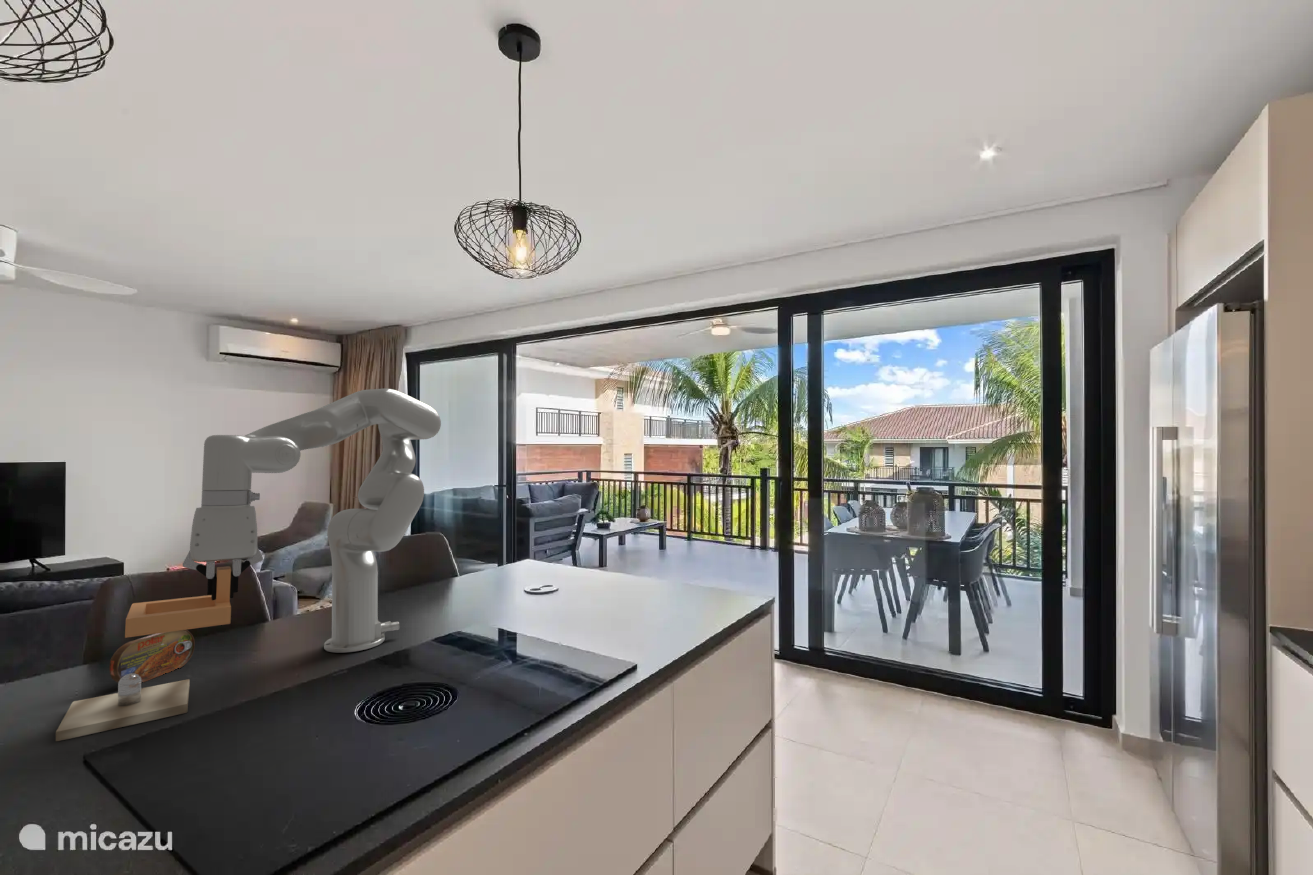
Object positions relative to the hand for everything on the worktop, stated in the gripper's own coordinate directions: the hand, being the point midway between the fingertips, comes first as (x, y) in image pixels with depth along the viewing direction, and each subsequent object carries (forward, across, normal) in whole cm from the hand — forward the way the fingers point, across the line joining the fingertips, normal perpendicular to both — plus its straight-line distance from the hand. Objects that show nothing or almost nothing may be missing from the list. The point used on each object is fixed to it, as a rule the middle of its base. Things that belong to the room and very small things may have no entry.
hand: (222, 597), depth 109 cm
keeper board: (+18, +12, -1) cm, 22 cm away
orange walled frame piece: (+4, +6, 0) cm, 7 cm away
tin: (+18, +10, -20) cm, 29 cm away
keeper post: (+17, +12, -1) cm, 21 cm away
